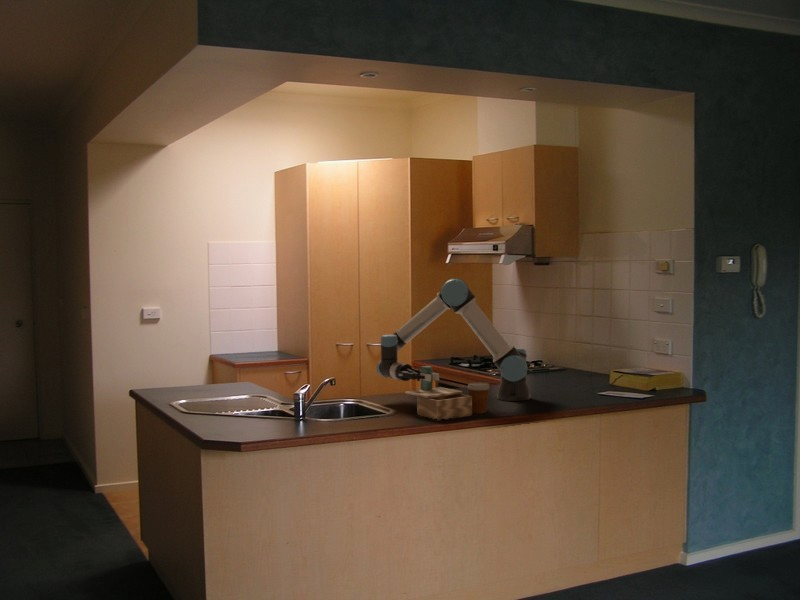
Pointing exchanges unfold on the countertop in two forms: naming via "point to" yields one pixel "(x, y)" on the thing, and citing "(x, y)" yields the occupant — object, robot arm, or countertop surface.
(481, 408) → the disposable coffee cup
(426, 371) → the lid
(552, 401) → the countertop surface
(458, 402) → the carton
